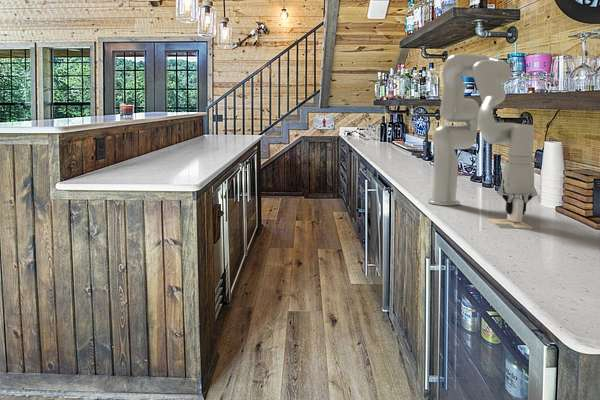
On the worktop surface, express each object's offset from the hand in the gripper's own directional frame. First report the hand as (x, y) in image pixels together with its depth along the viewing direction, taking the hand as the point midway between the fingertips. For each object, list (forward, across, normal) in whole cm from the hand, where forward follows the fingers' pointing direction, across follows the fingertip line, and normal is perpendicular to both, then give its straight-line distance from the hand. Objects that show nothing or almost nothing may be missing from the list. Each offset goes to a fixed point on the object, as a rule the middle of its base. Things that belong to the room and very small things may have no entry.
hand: (515, 213), depth 207 cm
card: (+3, +3, +2) cm, 5 cm away
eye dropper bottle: (+3, 0, 0) cm, 3 cm away
